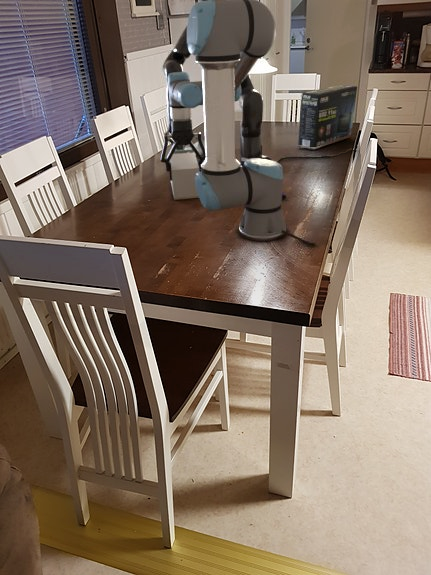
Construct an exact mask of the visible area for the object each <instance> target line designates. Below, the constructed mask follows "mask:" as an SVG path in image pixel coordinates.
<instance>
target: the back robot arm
mask: <svg viewBox="0 0 431 575" xmlns="http://www.w3.org/2000/svg"><path fill="white" fill-rule="evenodd" d="M201 1H207V0H201ZM191 56H192V54H191V53H190V52H189V50H188V43H187V25H186V26H185V28H184V29H183V30H182V33H181V34H180V36H179V38H178V40H177V41H176V43H175V46H174V47H173V49H172V50H171V51H170V53H169V54H168V55H167V57H166V59H165V60H164V61H163V64H162V73H163V75H164V76H165V77H166V89H165V96H166V113H167V122H168V127H167V130H166V131H165V132H163V136H164V135H165V134H166V135H171V134H172V125H171V121H172V120H173V119H171V112H170V99H169V88H168V75H169V74H170V73H174V72H184V69H183V66H184V65H185V62H186V61H187V60H188V59H190V57H191ZM237 102H238V105H239V107H240V109H241V121H240V123H239V126H240V127H239V128H240V130H239V132H240V133H239V135H240V139H239V140H240V141H239V142H240V144H239V145H240V149H239V150H240V164H241V167H243V166H244V163H245V160H248V159H252V158H259V159H267V160H272V161H273V159H272V158H271V157H269V156H267V155H263V144H262V124H263V121H264V120H263V118H264V98H263V96H262V94H261V93H260V92H259V91H257V90H256V89H255V86H254V84H253V82H252V80H251V77H250V72H249V73H248V75H247V76H246V78H245V79H244V80H243V82H242V83H241V95H240V99H239V100H238V101H237ZM174 142H175V141H174V140H173V139H172V138H170V141H168V143H170V144H171V145H172V146H173V143H174ZM176 150H184V145H182V146H179V145H178V146H177V148H176ZM352 151H353V152H357V150H356V149H355V148H354V150H352ZM320 156H321V157H302V156H284V157H285V158H282V157H280V158H279V159H277V160H276V161H275V162H277V163H279V162H280V161H282V160H289V159H290V160H291V159H294V160H295V159H302V160H303V159H325V158H332V157H334V156H332V157H331V156H327V155H320Z"/></svg>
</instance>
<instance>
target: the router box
mask: <svg viewBox="0 0 431 575" xmlns="http://www.w3.org/2000/svg"><path fill="white" fill-rule="evenodd" d="M357 93H358V86H356V85H350V84H339V85H338V84H337V85H334V86H328V87H324V88H318V89H314V90H309V91H304V92H301V93H300V109H299V110H300V111H299V124H298V137H297V146H298V145H302V146H307V147H317V146H320V145H323V144H325V143H328V142H331V141H333V140H336V139H338V138H341V137H344V136H347V135H351V136H352V133H353V132H352V131H353V125H354V115H355V109H356V99H357ZM311 151H313V150H312V149H311Z"/></svg>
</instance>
